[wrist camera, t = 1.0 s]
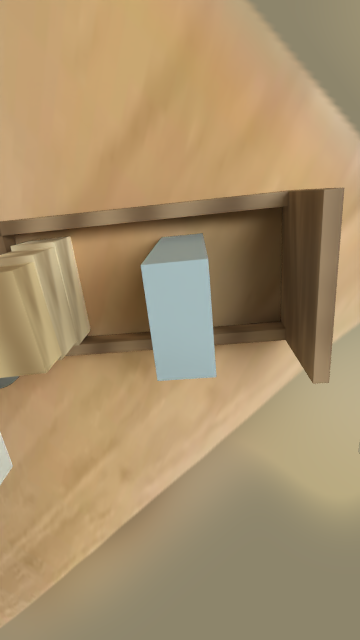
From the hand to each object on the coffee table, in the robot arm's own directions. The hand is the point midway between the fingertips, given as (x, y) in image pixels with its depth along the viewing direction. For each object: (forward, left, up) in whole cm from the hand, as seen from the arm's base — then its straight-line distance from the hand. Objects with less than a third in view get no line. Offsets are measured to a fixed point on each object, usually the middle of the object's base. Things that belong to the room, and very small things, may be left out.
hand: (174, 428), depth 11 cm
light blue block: (0, 0, -23) cm, 23 cm away
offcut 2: (-13, 0, -19) cm, 23 cm away
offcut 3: (-13, 0, -15) cm, 20 cm away
